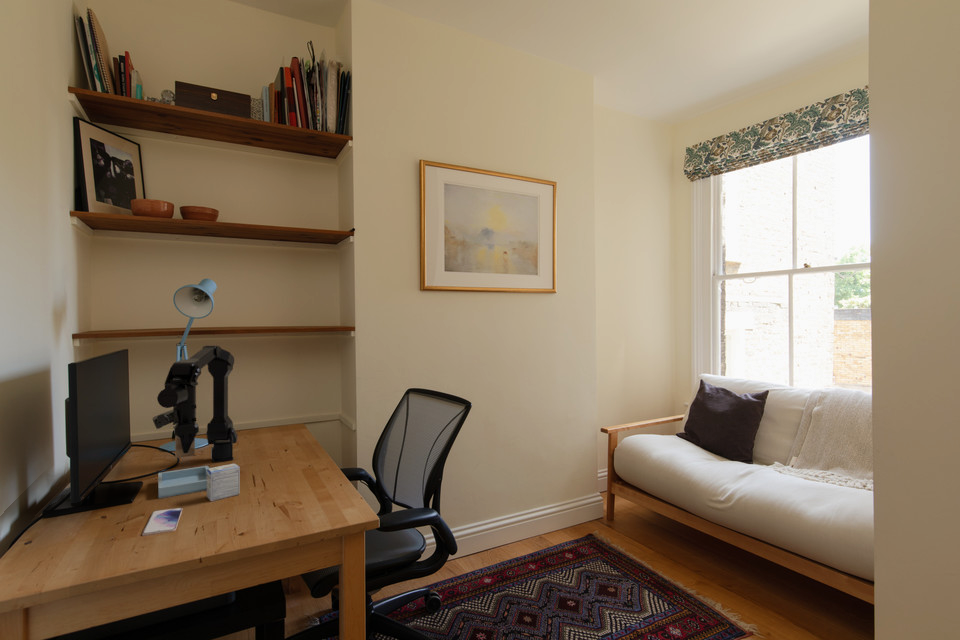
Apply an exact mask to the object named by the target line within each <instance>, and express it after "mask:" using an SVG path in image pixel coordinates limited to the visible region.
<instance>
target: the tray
mask: <svg viewBox="0 0 960 640" xmlns="http://www.w3.org/2000/svg"><path fill="white" fill-rule="evenodd" d="M209 468H210V467H209V465H202V466H198V467H197V466H195V467H189V468H183V469H175V470H171V471H170V470H169V471H164V472H158V481H157V482H158V483H157V484H158V487H157V488H158V489H157V490H158V499H163V498H164V499H165V498H169V497H176V496H181V495H187V494H192V493H199V492H205V491H207V469H209Z"/></svg>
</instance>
